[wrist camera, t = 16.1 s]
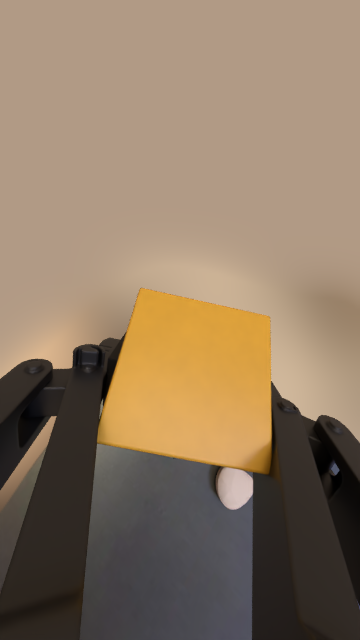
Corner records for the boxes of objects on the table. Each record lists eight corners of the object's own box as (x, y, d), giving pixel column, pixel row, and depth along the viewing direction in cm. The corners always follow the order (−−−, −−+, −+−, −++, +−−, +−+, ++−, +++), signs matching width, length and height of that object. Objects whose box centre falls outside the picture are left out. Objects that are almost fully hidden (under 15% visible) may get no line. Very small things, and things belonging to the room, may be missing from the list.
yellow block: (203, 440, 16) (273, 476, 7) (125, 426, 16) (91, 443, 7) (211, 363, 18) (271, 315, 9) (144, 349, 18) (139, 286, 9)
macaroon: (212, 462, 27) (218, 467, 24) (249, 461, 27) (258, 465, 25) (214, 505, 25) (221, 514, 23) (254, 502, 26) (264, 511, 23)
